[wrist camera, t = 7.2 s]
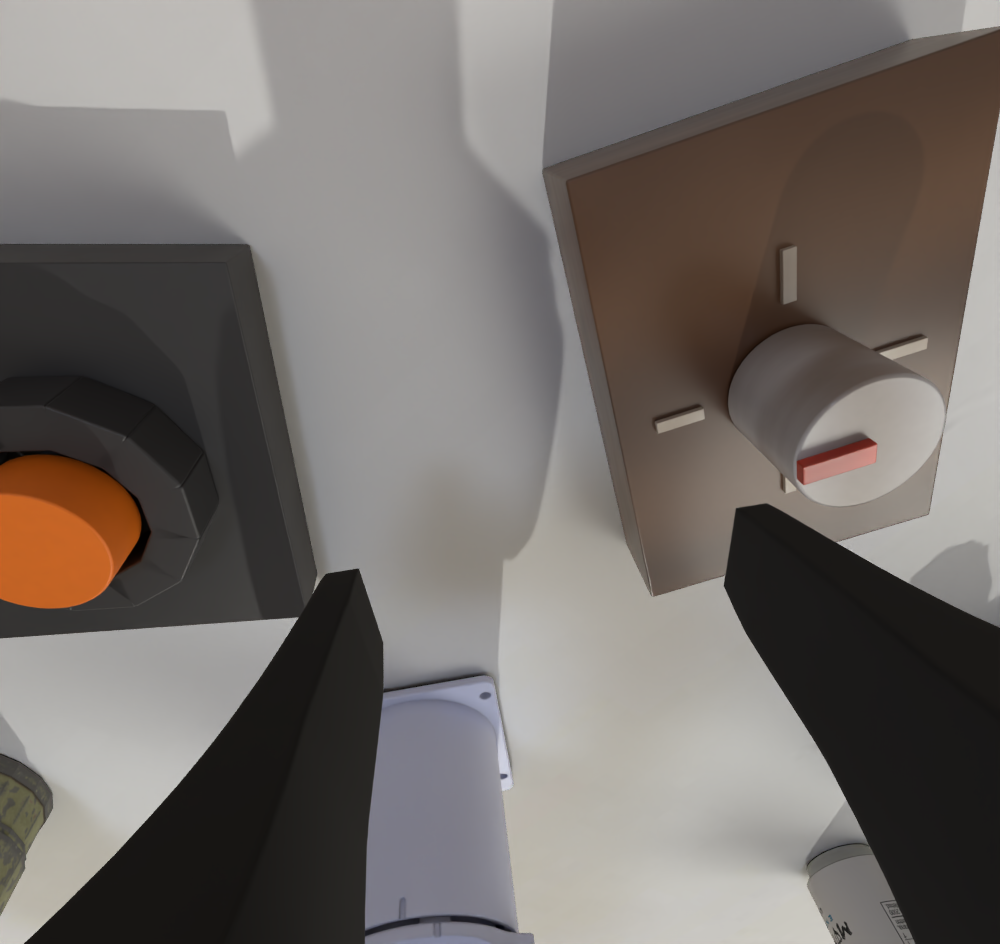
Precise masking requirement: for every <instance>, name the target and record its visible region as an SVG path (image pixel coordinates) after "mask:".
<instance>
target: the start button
mask: <svg viewBox="0 0 1000 944" xmlns="http://www.w3.org/2000/svg"><path fill="white" fill-rule="evenodd" d="M141 525H142V523H141V516H140V513H139V509H138V507H137V505H136V503H135V501H134V500H133V498H132V497H131V495H130V494H129V493H128V492H127V491H126V489H125V488H124V487H123V486H122V485H121V484H120V483H118V482H117V481H116V480H115V479H113V478H112V477H111V476H109V475H108V474H106V473H105V472H103V471H101V470H100V469H98V468H96V467H94V466H92V465H89V464H87V463H84V462H82V461H79V460H75V459H72V458H68V457H63V456H58V455H49V454H37V455H27V456H22V457H18V458H15V459H12V460H9V461H7V462H5V463H3V464H1V465H0V599H2V600H5V601H8V602H11V603H15V604H19V605H23V606H28V607H36V608H66V607H71V606H76V605H80V604H83V603H85V602H88V601H90V600H92V599H94V598H95V597H97V596H98V595H100V594H101V593H102V592H103V591H104V590H105V589H106V588H107V587H108V585H109V584H110V583H111V581H112V580H113V578H114V577H115V575H116V573H117V572H118V570H119V569H120V567H121V566H122V564H123V563H124V561H125V560H126V558H127V557H128V555H129V554H130V552H131V551H132V549H133V548H134V546H135V545H136V543H137V541H138V539H139V537H140V533H141Z"/></svg>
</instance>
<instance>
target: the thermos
mask: <svg viewBox="0 0 1000 944" xmlns="http://www.w3.org/2000/svg"><path fill="white" fill-rule="evenodd" d="M52 809H53V800H52V792H51V791H50V789H49V788H48V787H47V785H46V784H45V782H44V781H43V779H42V778H41V777H40V776H38V775H37V774H35V773H34V772H32V771H31V770H30V769H28V768H27V767H25V766H24V765H23V764H21V763H19V762H17V761H15V760H12V759H10V758H7V757H5V756H3V755H0V915H1V914H2V912H3V910H4V908H5V906H6V904H7V902H8V900H9V898H10V896H11V894H12V893H13V891H14V889H15V887H16V885H17V883H18V881H19V879H20V877H21V875H22V873H23V872H24V870H25V860H26V854H27V852H28V850H29V848H30V846H31V845H32V843H33V841H34V839H35V837H36V835H37V833H38V832H39V830H40V829H41V827H42V826H43V825H44V823H45V822H46V820H47V818H48V816H49V814H50V813H51V811H52Z"/></svg>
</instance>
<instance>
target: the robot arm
mask: <svg viewBox="0 0 1000 944" xmlns="http://www.w3.org/2000/svg"><path fill="white" fill-rule="evenodd" d="M724 587H725V589H726V592H727V594H728V596H729V598H730V601H731V603H732V605H733V607H734V609H735V612H736V614H737V616H738V618H739V620H740V622H741V624H742V626H743V628H744V630H745V632H746V634H747V636H748V637H749V639H750V640H751V642H752V644H753V645H754V647H755V648H756V650H757V652H758V653H759V655H760V656H761V658H762V660H763V661H764V663H765V664H766V666H767V668H768V669H769V671H770V672H771V674H772V675H773V677H774V678H775V680H776V682H777V683H778V685H779V686H780V688H781V689H782V691H783V692H784V694H785V696H786V697H787V699H788V700H789V702H790V703H791V705H792V706H793V708H794V710H795V711H796V713H797V714H798V716H799V717H800V719H801V721H802V722H803V724H804V725H805V727H806V728H807V730H808V731H809V733H810V735H811V736H812V738H813V739H814V741H815V743H816V744H817V746H818V748H819V749H820V751H821V753H822V755H823V756H824V758H825V760H826V761H827V763H828V765H829V767H830V769H831V771H832V773H833V774H834V776H835V778H836V780H837V782H838V784H839V786H840V788H841V790H842V792H843V794H844V796H845V798H846V800H847V802H848V803H849V805H850V807H851V809H852V811H853V813H854V815H855V817H856V819H857V821H858V823H859V825H860V827H861V829H862V831H863V833H864V835H865V837H866V839H867V842H868V844H869V846H870V848H871V850H872V852H873V854H874V856H875V858H876V860H877V862H878V864H879V866H880V868H881V870H882V872H883V874H884V876H885V878H886V881H887V883H888V885H889V887H890V889H891V892H892V894H893V896H894V898H895V900H896V903H897V905H898V907H899V909H900V911H901V913H902V916H903V918H904V920H905V922H906V924H907V927H908V929H909V931H910V933H911V935H912V938H913V940H914V942H915V944H1000V628H999V627H997V626H994V625H992V624H990V623H988V622H985V621H983V620H981V619H979V618H977V617H974V616H972V615H970V614H968V613H966V612H964V611H962V610H960V609H958V608H956V607H954V606H952V605H950V604H948V603H946V602H944V601H942V600H940V599H938V598H936V597H934V596H932V595H930V594H928V593H926V592H924V591H922V590H920V589H918V588H916V587H914V586H913V585H911V584H909V583H907V582H905V581H903V580H901V579H899V578H898V577H896V576H894V575H892V574H890V573H888V572H887V571H885V570H883V569H881V568H879V567H878V566H876V565H874V564H872V563H870V562H869V561H867V560H865V559H863V558H862V557H860V556H858V555H856V554H855V553H853V552H851V551H849V550H848V549H846V548H844V547H843V546H841V545H839V544H837V543H836V542H834V541H832V540H831V539H829V538H827V537H826V536H824V535H822V534H820V533H819V532H817V531H815V530H814V529H812V528H810V527H809V526H807V525H805V524H803V523H802V522H800V521H798V520H797V519H795V518H793V517H791V516H790V515H788V514H786V513H784V512H783V511H781V510H779V509H777V508H775V507H774V506H772V505H770V504H768V503H764V504H758V505H752V506H745V507H739V508H736V511H735V517H734V523H733V530H732V536H731V543H730V549H729V556H728V562H727V569H726V575H725V582H724ZM513 784H514V783H513V776H512V771H511V766H510V761H509V756H508V751H507V746H506V741H505V736H504V730H503V725H502V720H501V715H500V710H499V705H498V700H497V695H496V690H495V684H494V680H493V678H491V677H490V676H486V675H483V676H476V677H471V678H465V679H459V680H454V681H448V682H442V683H437V684H431V685H425V686H419V687H414V688H408V689H402V690H397V691H391V692H385V693H383V641H382V637H381V634H380V631H379V628H378V625H377V622H376V619H375V616H374V613H373V610H372V607H371V604H370V601H369V598H368V595H367V592H366V589H365V586H364V583H363V580H362V577H361V574H360V571H359V569H353V570H347V571H340V572H334V573H328V574H325V576H324V577H323V578H322V579H321V581H320V583H319V584H318V586H317V588H316V589H315V591H314V593H313V595H312V596H311V598H310V600H309V601H308V603H307V605H306V606H305V608H304V610H303V611H302V613H301V615H300V616H299V618H298V620H297V621H296V623H295V624H294V626H293V628H292V629H291V631H290V633H289V634H288V636H287V637H286V639H285V641H284V642H283V644H282V645H281V647H280V648H279V650H278V651H277V653H276V654H275V656H274V657H273V659H272V661H271V662H270V664H269V665H268V667H267V668H266V670H265V671H264V673H263V674H262V676H261V677H260V679H259V680H258V682H257V683H256V684H255V686H254V687H253V689H252V690H251V691H250V693H249V694H248V696H247V697H246V698H245V700H244V701H243V702H242V704H241V705H240V707H239V708H238V709H237V711H236V712H235V714H234V715H233V716H232V718H231V719H230V721H229V722H228V723H227V725H226V726H225V727H224V729H223V730H222V731H221V732H220V734H219V735H218V736H217V738H216V739H215V740H214V742H213V743H212V744H211V745H210V747H209V748H208V749H207V750H206V752H205V753H204V754H203V755H202V757H201V758H200V759H199V760H198V762H197V763H196V764H195V765H194V766H193V768H192V769H191V770H190V771H189V772H188V774H187V775H186V776H185V777H184V778H183V780H182V781H181V782H180V783H179V784H178V786H177V787H176V788H175V789H174V790H173V791H172V792H171V794H170V795H169V796H168V797H167V798H166V799H165V800H164V801H163V803H162V804H161V805H160V806H159V807H158V808H157V809H156V810H155V811H154V813H153V814H152V815H151V816H150V817H149V818H148V819H147V820H146V821H145V823H144V824H143V825H142V826H141V827H140V828H139V829H138V830H137V831H136V832H135V833H134V834H133V836H132V837H131V838H130V839H129V840H128V841H127V842H126V843H125V844H124V845H123V846H122V847H121V849H120V850H119V851H118V852H117V853H116V854H115V855H114V856H113V857H112V858H111V859H110V860H109V861H108V862H107V863H106V864H105V865H104V866H103V867H102V868H101V869H100V870H99V871H98V872H97V873H96V874H95V875H94V876H93V877H92V878H91V879H90V880H89V881H88V882H87V883H86V884H85V885H84V886H83V887H82V888H81V889H80V890H79V891H78V892H77V893H76V894H75V895H74V896H73V897H72V898H71V899H70V900H69V901H68V902H67V903H66V904H65V905H64V906H63V907H62V908H61V909H60V910H59V911H58V912H57V913H56V914H55V915H54V916H53V917H52V918H50V919H49V920H48V921H47V922H46V923H45V924H44V925H43V926H42V927H41V928H40V929H39V930H38V931H37V932H36V933H35V934H34V935H33V936H32V937H31V938H30V939H28V940H27V941H26V942H25V943H24V944H535V943H534V936H533V934H532V933H519V930H518V922H517V913H516V905H515V897H514V888H513V880H512V871H511V863H510V854H509V846H508V837H507V829H506V821H505V812H504V804H503V795H502V791H506V790H509V789H511V788H512V787H513Z"/></svg>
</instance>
